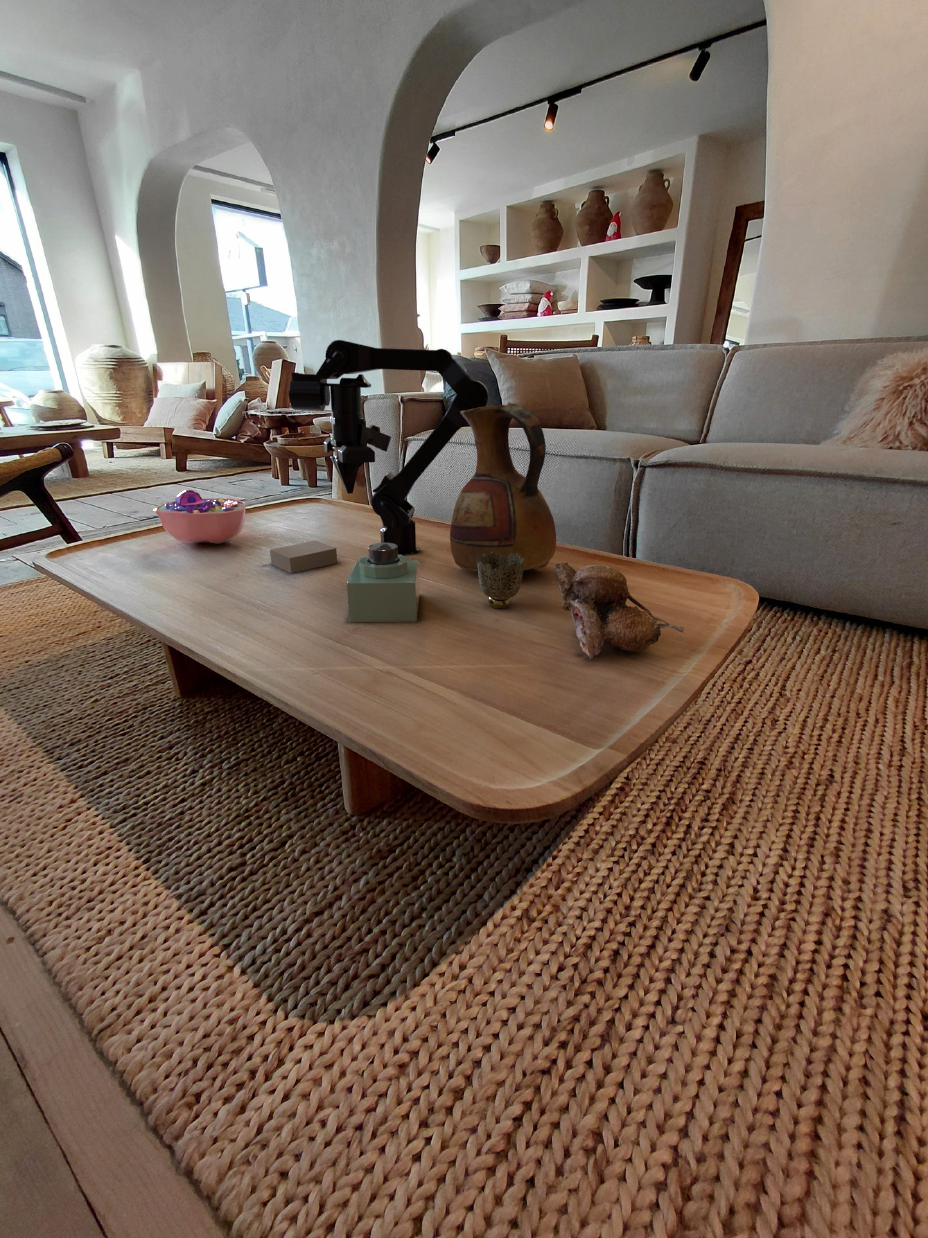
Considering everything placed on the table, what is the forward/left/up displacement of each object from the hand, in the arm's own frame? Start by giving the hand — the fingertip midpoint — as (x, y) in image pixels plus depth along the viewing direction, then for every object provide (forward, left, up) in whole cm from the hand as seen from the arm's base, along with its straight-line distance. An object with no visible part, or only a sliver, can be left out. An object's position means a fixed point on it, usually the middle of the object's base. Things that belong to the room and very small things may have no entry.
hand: (349, 493), depth 118 cm
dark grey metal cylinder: (+3, +35, -4) cm, 36 cm away
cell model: (+28, -19, -12) cm, 36 cm away
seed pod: (-20, +60, -12) cm, 64 cm away
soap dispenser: (+3, +35, -12) cm, 38 cm away
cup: (-14, +41, -12) cm, 45 cm away
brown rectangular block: (+11, +6, -12) cm, 17 cm away
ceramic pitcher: (-23, +24, -12) cm, 36 cm away
